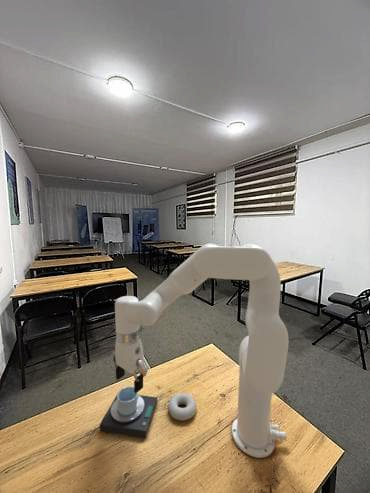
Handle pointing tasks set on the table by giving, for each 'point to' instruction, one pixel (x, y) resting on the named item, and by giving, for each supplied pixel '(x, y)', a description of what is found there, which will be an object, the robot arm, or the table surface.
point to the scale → (135, 427)
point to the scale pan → (130, 417)
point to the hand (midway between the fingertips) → (129, 383)
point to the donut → (182, 412)
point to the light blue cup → (127, 400)
